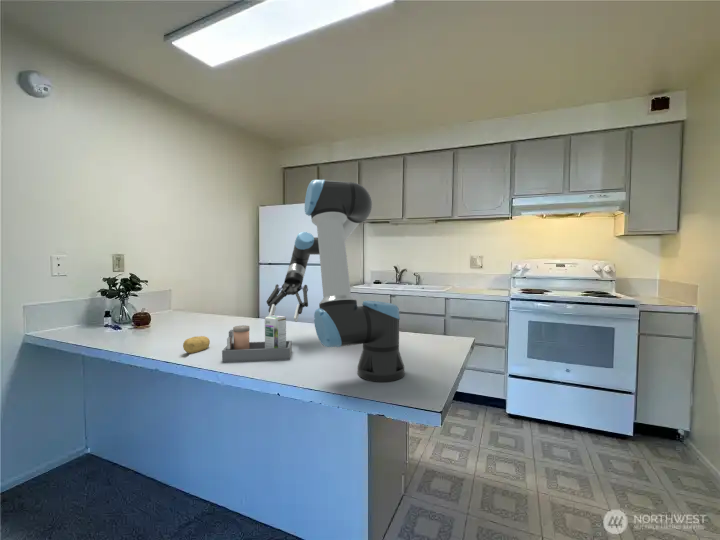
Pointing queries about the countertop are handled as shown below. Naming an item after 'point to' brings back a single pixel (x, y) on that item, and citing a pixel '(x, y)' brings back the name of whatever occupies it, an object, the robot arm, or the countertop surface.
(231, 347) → the pusher
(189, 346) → the potato
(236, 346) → the jar
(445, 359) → the countertop surface
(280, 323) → the syrup box
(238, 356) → the gray tray
